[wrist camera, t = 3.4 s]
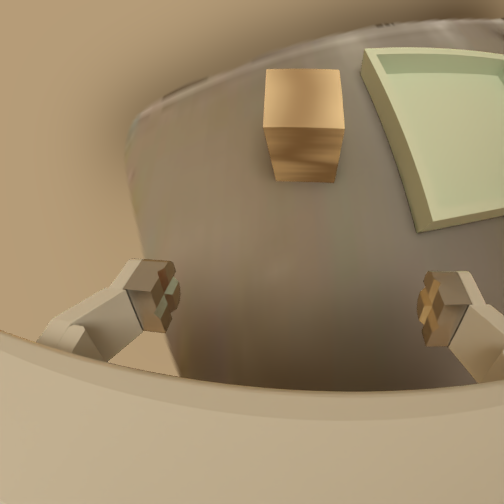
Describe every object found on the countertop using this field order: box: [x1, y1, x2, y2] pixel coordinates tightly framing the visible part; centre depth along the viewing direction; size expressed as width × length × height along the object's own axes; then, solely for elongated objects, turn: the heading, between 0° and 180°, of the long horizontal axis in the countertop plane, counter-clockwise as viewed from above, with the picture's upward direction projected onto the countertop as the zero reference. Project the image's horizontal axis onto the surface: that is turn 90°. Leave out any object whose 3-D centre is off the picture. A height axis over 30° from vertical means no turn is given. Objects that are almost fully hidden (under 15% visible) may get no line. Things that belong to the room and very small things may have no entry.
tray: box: [360, 48, 504, 233], centre depth 21 cm, size 18×16×4 cm
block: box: [263, 69, 345, 183], centre depth 21 cm, size 4×4×8 cm
